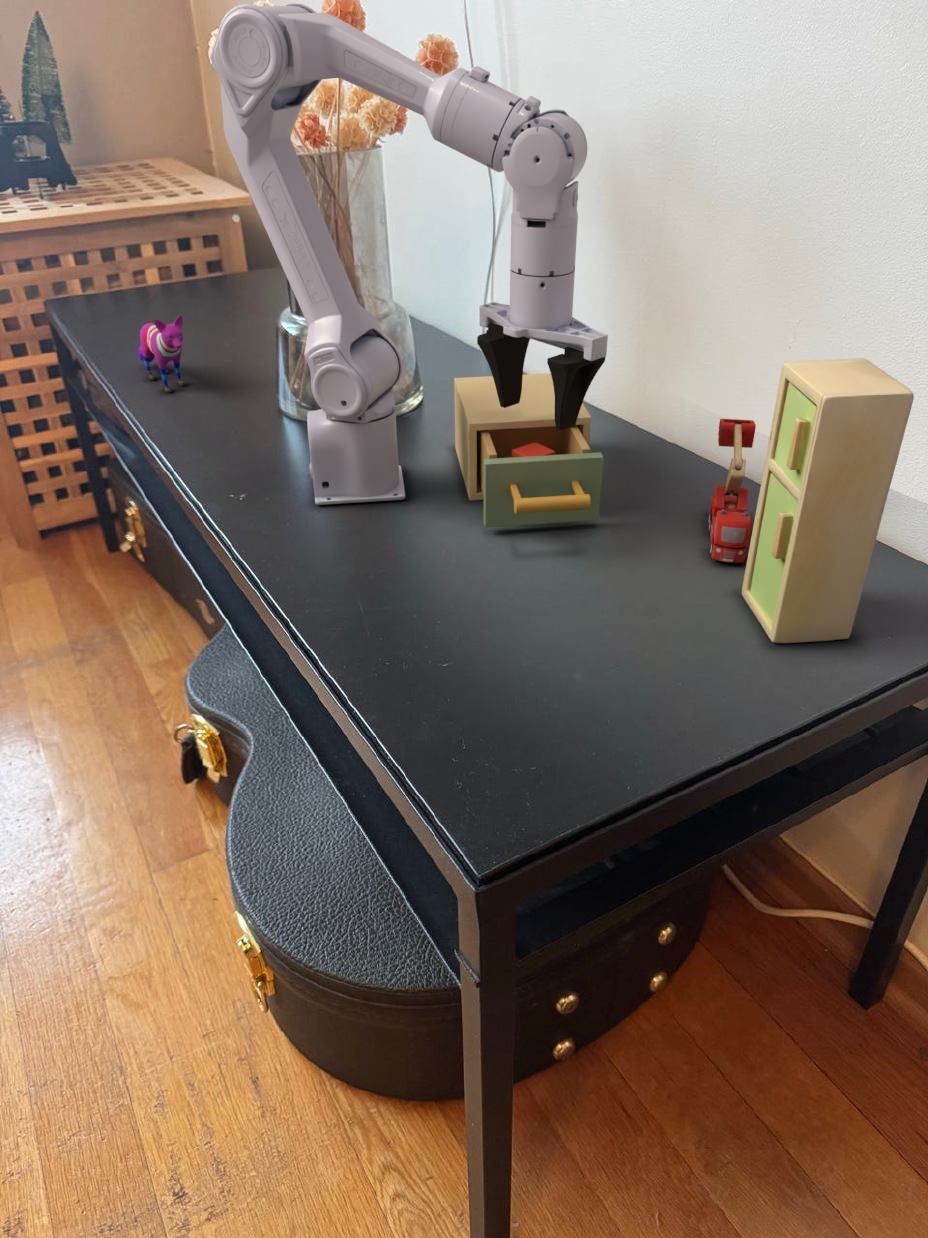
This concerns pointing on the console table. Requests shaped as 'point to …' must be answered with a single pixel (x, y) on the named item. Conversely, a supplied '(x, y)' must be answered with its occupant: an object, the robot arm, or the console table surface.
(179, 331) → the toy dog
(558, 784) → the console table surface
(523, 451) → the toy car
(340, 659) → the console table surface
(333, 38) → the robot arm
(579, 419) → the wooden drawer cabinet
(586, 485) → the cabinet drawer
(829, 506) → the toy refrigerator
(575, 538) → the console table surface
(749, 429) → the toy fire truck
